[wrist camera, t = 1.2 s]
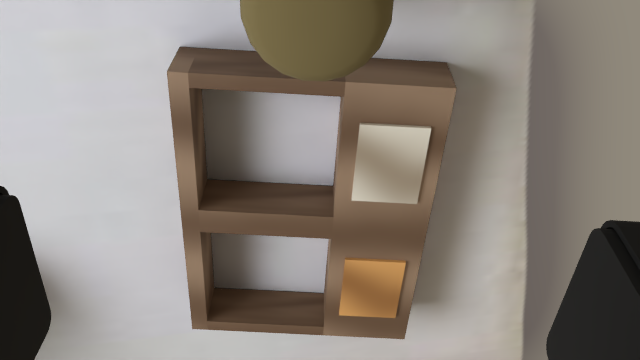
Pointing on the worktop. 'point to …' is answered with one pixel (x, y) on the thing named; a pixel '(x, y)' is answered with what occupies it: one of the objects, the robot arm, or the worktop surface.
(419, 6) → the worktop surface
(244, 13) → the olive piece
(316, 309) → the socket block
